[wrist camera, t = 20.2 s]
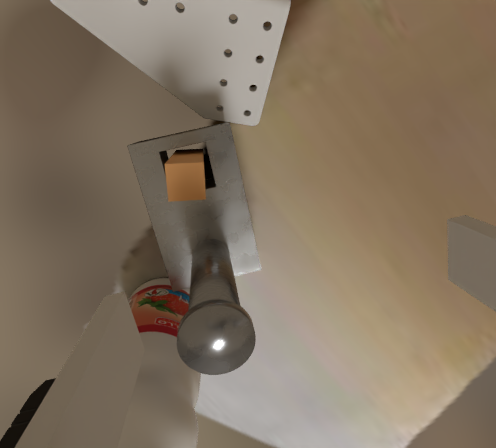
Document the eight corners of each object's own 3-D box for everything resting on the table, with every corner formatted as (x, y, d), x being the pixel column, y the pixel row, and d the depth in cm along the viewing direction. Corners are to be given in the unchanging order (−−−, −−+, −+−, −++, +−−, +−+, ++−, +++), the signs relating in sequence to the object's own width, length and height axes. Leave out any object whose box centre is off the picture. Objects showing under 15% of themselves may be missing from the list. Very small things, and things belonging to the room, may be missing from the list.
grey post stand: (225, 122, 39) (250, 125, 19) (253, 250, 44) (296, 359, 24) (138, 141, 38) (68, 165, 18) (176, 269, 43) (155, 396, 23)
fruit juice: (111, 302, 43) (-33, 590, 17) (172, 261, 43) (122, 493, 16) (157, 351, 46) (97, 664, 20) (215, 314, 46) (232, 584, 19)
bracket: (35, -56, 26) (291, 1, 29) (74, -90, 32) (282, -39, 35) (72, 97, 36) (257, 126, 39) (96, 49, 42) (255, 78, 45)
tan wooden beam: (203, 148, 39) (203, 162, 27) (204, 174, 40) (205, 199, 28) (176, 149, 39) (164, 164, 27) (178, 176, 40) (168, 201, 28)
